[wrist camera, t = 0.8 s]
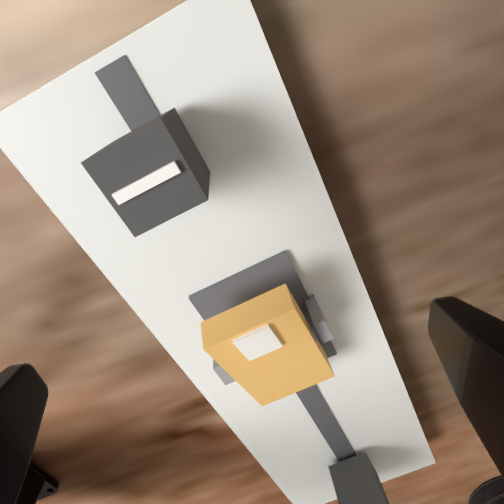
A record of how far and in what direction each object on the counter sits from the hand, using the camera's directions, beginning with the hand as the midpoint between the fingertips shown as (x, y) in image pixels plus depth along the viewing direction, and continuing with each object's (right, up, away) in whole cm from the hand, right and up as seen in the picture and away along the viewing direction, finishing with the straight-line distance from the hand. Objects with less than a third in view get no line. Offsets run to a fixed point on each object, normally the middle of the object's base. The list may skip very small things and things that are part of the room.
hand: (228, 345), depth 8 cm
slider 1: (-3, +6, +7) cm, 10 cm away
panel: (+2, -3, +15) cm, 16 cm away
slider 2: (+8, -15, +19) cm, 25 cm away
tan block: (+2, -3, +11) cm, 11 cm away
